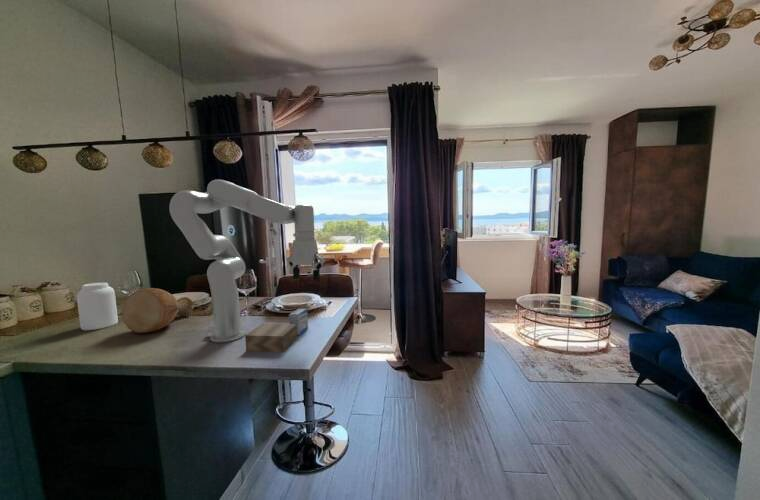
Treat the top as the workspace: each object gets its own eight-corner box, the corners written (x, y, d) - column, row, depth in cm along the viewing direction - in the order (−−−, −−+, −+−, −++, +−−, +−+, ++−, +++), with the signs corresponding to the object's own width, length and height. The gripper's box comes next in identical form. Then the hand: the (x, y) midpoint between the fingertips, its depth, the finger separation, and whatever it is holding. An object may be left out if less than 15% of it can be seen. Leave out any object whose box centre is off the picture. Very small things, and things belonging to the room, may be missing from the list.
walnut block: (246, 351, 102) (245, 335, 102) (263, 338, 114) (262, 323, 113) (283, 352, 101) (282, 336, 100) (297, 339, 112) (296, 324, 112)
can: (100, 330, 126) (94, 286, 124) (72, 331, 126) (66, 286, 124) (125, 321, 139) (121, 280, 137) (100, 321, 139) (95, 281, 137)
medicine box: (299, 335, 115) (298, 314, 114) (289, 334, 116) (288, 314, 115) (308, 328, 123) (307, 308, 122) (298, 327, 124) (297, 308, 123)
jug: (98, 310, 115) (155, 299, 145) (127, 347, 115) (178, 329, 145) (138, 280, 116) (187, 275, 146) (167, 316, 116) (210, 304, 146)
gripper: (281, 236, 113) (282, 279, 115) (317, 236, 106) (318, 282, 108) (293, 235, 120) (295, 275, 122) (328, 236, 113) (329, 278, 115)
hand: (306, 278), depth 115 cm, fingers open, 9 cm apart
